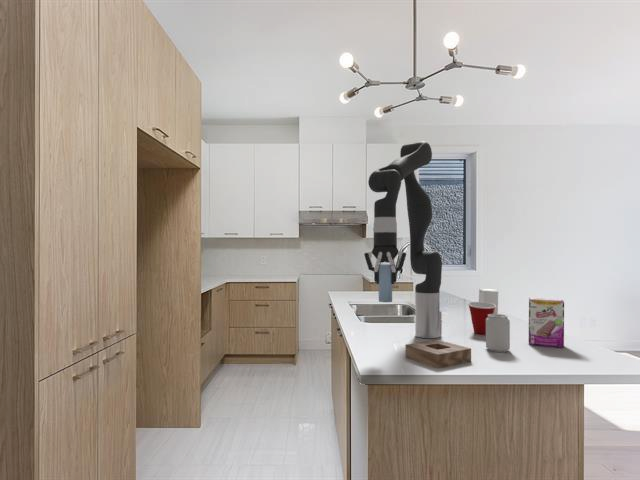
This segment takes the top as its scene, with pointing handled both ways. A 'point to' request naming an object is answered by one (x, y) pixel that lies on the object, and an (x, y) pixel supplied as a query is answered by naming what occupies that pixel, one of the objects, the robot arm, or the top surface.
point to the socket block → (438, 353)
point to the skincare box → (489, 297)
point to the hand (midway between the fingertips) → (385, 283)
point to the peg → (385, 283)
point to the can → (498, 333)
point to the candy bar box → (546, 322)
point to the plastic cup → (480, 315)
